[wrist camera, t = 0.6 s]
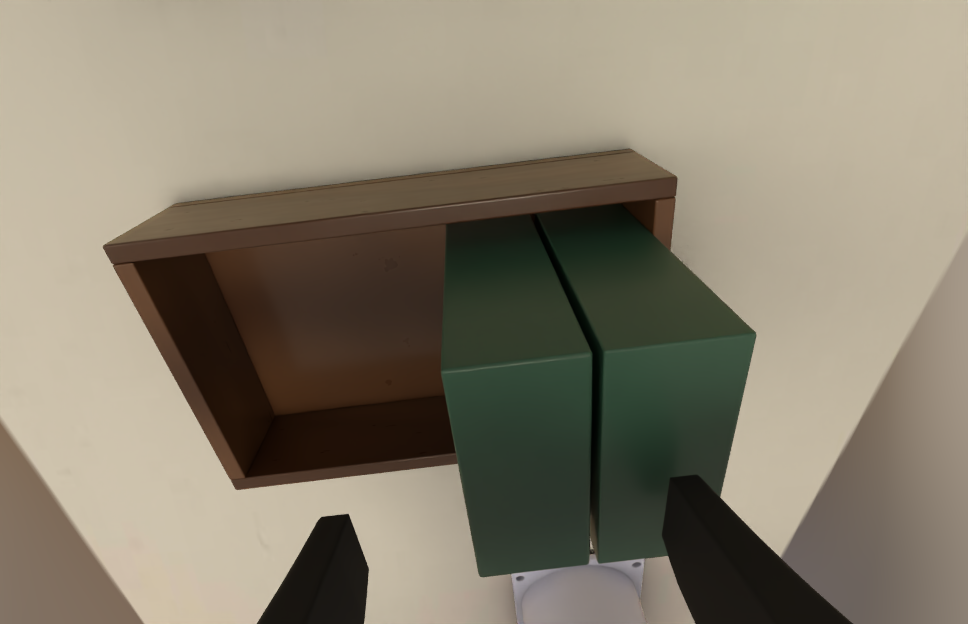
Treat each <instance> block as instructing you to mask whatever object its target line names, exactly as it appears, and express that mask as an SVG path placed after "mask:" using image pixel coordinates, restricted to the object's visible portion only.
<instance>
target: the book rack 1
mask: <svg viewBox="0 0 968 624" xmlns="http://www.w3.org/2000/svg"><path fill="white" fill-rule="evenodd" d="M676 189H677V176H675V175H673V174H672V173H670V172H668V171H667V170H665V169H663V168H662V167H660V166H658V165H657V164H655V163H653V162H652V161H650V160H648V159H647V158H645V157H643V156H642V155H640V154H638V153H636V152H635V151H633V150H632V149H625V150H617V151H609V152H600V153H592V154H584V155H575V156H567V157H559V158H550V159H542V160H534V161H525V162H517V163H509V164H500V165H492V166H484V167H475V168H467V169H459V170H451V171H442V172H434V173H426V174H417V175H409V176H401V177H392V178H384V179H376V180H367V181H359V182H351V183H342V184H334V185H326V186H317V187H309V188H301V189H292V190H284V191H276V192H268V193H259V194H251V195H243V196H234V197H226V198H218V199H209V200H201V201H193V202H184V203H176V204H174V205H172V206H170V207H169V208H167V209H165V210H164V211H162V212H160V213H158V214H157V215H155V216H153V217H152V218H150V219H148V220H146V221H145V222H143V223H141V224H139V225H138V226H136V227H134V228H132V229H131V230H129V231H127V232H126V233H124V234H122V235H120V236H119V237H117V238H115V239H113V240H112V241H110V242H108V243H107V244H105V245H103V248H104V250H105V252H106V254H107V256H108V258H109V259H110V261H111V263H112V264H114V265H113V267H114V269H115V271H116V273H117V275H118V276H119V278H120V280H121V282H122V284H123V285H124V287H125V289H126V291H127V293H128V295H129V296H130V298H131V300H132V302H133V304H134V305H135V307H136V309H137V311H138V313H139V315H140V316H141V318H142V320H143V322H144V324H145V325H146V327H147V329H148V331H149V333H150V335H151V336H152V338H153V340H154V342H155V344H156V346H157V347H158V349H159V351H160V353H161V355H162V356H163V358H164V360H165V362H166V364H167V366H168V367H169V369H170V371H171V373H172V375H173V376H174V378H175V380H176V382H177V384H178V386H179V387H180V389H181V391H182V393H183V395H184V396H185V398H186V400H187V402H188V404H189V406H190V407H191V409H192V411H193V413H194V415H195V416H196V418H197V420H198V422H199V424H200V426H201V427H202V429H203V431H204V433H205V435H206V436H207V438H208V440H209V442H210V444H211V446H212V447H213V449H214V451H215V453H216V455H217V457H218V458H219V460H220V462H221V464H222V466H223V467H224V469H225V471H226V473H227V475H228V477H229V478H230V479H231V482H232V483H233V485H234V487H235V489H236V490H241V489H249V488H258V487H266V486H274V485H283V484H291V483H300V482H308V481H316V480H325V479H333V478H342V477H350V476H358V475H367V474H375V473H384V472H392V471H400V470H409V469H417V468H426V467H434V466H442V465H451V464H458V462H457V456H456V451H455V446H454V440H453V435H452V430H451V424H450V419H449V414H448V409H447V403H446V398H445V393H444V387H443V382H442V377H441V348H442V321H443V294H444V266H445V239H446V224H453V223H461V222H470V221H478V220H486V219H495V218H503V217H511V216H520V215H528V214H530V216H531V218H532V221H533V223H534V225H535V214H536V213H545V212H553V211H561V210H570V209H578V208H586V207H595V206H603V205H611V204H620V203H621V204H622V205H623V206H624V207H625V208H626V209H627V210H628V211H629V212H630V213H631V214H632V215H633V216H634V217H635V218H636V219H637V220H638V221H639V222H640V223H641V224H642V225H644V226H645V227H646V228H647V229H648V230H649V231H650V232H651V233H652V234H653V235H654V236H655V237H656V238H657V239H658V240H659V241H660V242H661V243H662V244H663V245H664V246H666V247H667V248H668V249H669V250H670V248H671V238H672V229H673V219H674V209H675V196H676Z"/></svg>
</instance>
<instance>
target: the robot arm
mask: <svg viewBox="0 0 968 624" xmlns="http://www.w3.org/2000/svg"><path fill="white" fill-rule="evenodd" d="M662 538H663V541H664V544H665V547H666V550H667V553H668V557H669V560H670V563H671V566H672V568H673V571H674V574H675V577H676V580H677V583H678V585H679V588H680V590H681V592H682V594H683V597H684V599H685V601H686V603H687V606H688V608H689V610H690V612H691V614H692V617H693V619H694V621H695V623H696V624H853V623H851V622H850V621H849V620H848V619H847V618H846V617H845V616H843V615H842V614H841V613H840V612H839V611H838V610H837V609H835V608H834V607H833V606H832V605H831V604H830V603H829V602H827V601H826V600H825V599H824V598H823V597H822V596H821V595H820V594H819V593H817V592H816V591H815V590H814V589H813V588H812V587H811V586H810V585H809V584H808V583H806V582H805V581H804V580H803V579H802V578H801V577H800V576H799V575H798V574H797V573H796V572H794V571H793V569H791V568H790V567H789V566H788V565H787V564H786V563H785V562H784V561H783V560H782V559H781V558H780V557H779V556H778V555H777V554H776V553H775V552H774V551H773V550H772V549H771V548H770V547H768V546H767V545H766V544H765V543H764V542H763V541H762V540H761V539H760V538H759V537H758V536H757V535H756V534H755V533H754V532H753V531H752V530H751V529H750V528H749V527H748V526H747V525H746V524H745V523H744V522H743V521H742V520H741V519H740V518H739V516H738V515H737V514H736V513H735V512H734V511H733V510H732V509H731V508H730V507H729V506H728V505H727V504H726V503H725V502H724V501H723V500H722V499H721V498H720V497H719V496H718V495H717V494H716V493H715V492H714V490H713V489H712V488H711V487H710V486H709V485H708V484H707V483H706V482H705V481H704V480H703V479H702V478H701V477H700V476H699V475H688V476H679V477H670V481H669V488H668V495H667V502H666V509H665V516H664V523H663V529H662ZM644 563H645V559H637V560H628V561H620V562H612V563H603V564H598V562H597V559H596V555H595V554H590V561H589V564H588V565H582V566H573V567H565V568H557V569H548V570H540V571H531V572H523V573H514V574H511V577H512V585H513V593H514V601H515V608H516V616H517V624H647V621H646V618H645V615H644V612H643V609H642V606H641V604H640V598H641V589H642V580H643V571H644ZM368 573H369V568H368V565H367V562H366V560H365V557H364V554H363V552H362V549H361V546H360V543H359V541H358V538H357V535H356V533H355V530H354V527H353V524H352V522H351V519H350V516H349V514H344V515H335V516H326V517H321V518H320V519H319V520H318V522H317V523H316V525H315V527H314V529H313V531H312V532H311V534H310V536H309V538H308V539H307V541H306V543H305V545H304V546H303V548H302V550H301V552H300V553H299V555H298V557H297V559H296V560H295V562H294V564H293V566H292V567H291V569H290V571H289V572H288V574H287V576H286V577H285V579H284V581H283V582H282V584H281V586H280V587H279V589H278V591H277V592H276V594H275V595H274V597H273V599H272V600H271V602H270V603H269V605H268V607H267V608H266V610H265V611H264V613H263V615H262V616H261V618H260V619H259V621H258V623H257V624H364V619H365V608H366V598H367V586H368Z"/></svg>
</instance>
